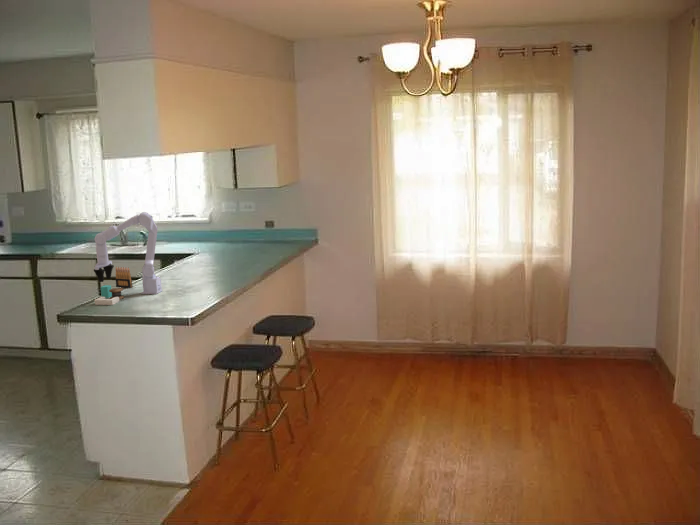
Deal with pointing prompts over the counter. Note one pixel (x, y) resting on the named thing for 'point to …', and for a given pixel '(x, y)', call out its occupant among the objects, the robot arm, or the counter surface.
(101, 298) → the notched board
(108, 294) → the tab peg
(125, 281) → the ammunition clip
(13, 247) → the counter surface
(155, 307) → the counter surface
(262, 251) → the counter surface
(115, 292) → the bobbin
